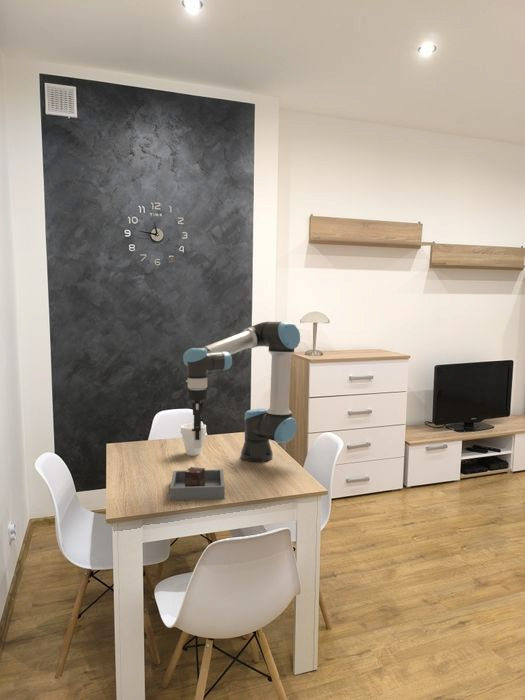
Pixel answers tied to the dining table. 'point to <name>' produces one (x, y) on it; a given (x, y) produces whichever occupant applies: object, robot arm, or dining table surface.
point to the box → (195, 477)
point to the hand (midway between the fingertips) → (197, 442)
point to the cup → (192, 438)
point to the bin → (209, 491)
